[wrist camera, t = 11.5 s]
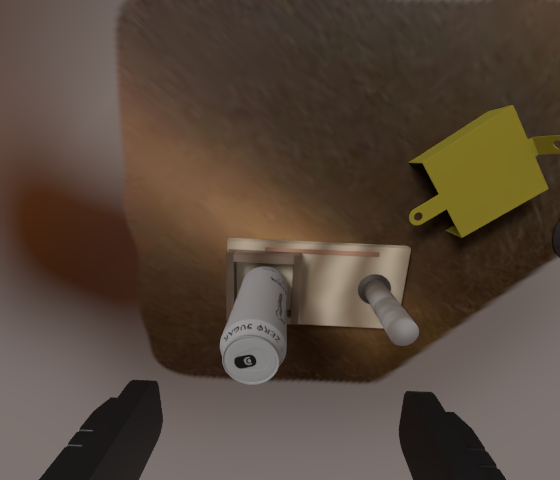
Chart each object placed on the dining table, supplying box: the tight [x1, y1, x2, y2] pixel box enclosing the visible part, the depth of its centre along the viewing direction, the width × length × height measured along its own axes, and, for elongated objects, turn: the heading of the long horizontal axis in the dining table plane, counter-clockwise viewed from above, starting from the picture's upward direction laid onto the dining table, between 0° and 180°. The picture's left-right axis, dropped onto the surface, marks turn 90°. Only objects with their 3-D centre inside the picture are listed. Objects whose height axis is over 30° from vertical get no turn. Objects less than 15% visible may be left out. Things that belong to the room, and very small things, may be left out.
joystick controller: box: [226, 238, 419, 346], centre depth 34 cm, size 24×12×11 cm, turn 88°
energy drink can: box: [220, 266, 287, 385], centre depth 30 cm, size 6×6×15 cm
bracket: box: [409, 105, 560, 238], centre depth 31 cm, size 16×8×15 cm
